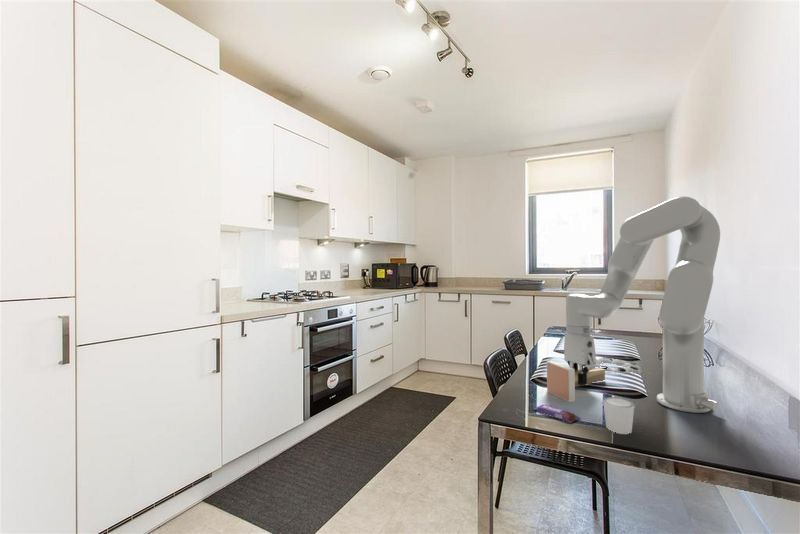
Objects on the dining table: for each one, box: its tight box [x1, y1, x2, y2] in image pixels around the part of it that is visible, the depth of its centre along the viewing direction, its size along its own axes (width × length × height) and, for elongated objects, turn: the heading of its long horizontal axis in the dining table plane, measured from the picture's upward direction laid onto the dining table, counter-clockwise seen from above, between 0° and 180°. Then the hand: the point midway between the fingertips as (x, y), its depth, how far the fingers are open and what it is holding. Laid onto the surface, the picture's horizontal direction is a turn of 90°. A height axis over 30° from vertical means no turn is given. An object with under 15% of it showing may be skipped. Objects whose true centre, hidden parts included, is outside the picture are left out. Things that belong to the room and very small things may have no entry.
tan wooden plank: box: [575, 367, 606, 388], centre depth 125 cm, size 7×19×4 cm, turn 107°
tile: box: [546, 360, 576, 403], centre depth 115 cm, size 10×2×10 cm, turn 17°
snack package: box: [533, 404, 581, 424], centre depth 102 cm, size 12×2×5 cm
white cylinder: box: [602, 396, 635, 435], centre depth 93 cm, size 7×7×7 cm
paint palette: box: [594, 357, 642, 374], centre depth 143 cm, size 20×20×2 cm
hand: (579, 382), depth 125 cm, fingers closed on tan wooden plank, 2 cm apart
